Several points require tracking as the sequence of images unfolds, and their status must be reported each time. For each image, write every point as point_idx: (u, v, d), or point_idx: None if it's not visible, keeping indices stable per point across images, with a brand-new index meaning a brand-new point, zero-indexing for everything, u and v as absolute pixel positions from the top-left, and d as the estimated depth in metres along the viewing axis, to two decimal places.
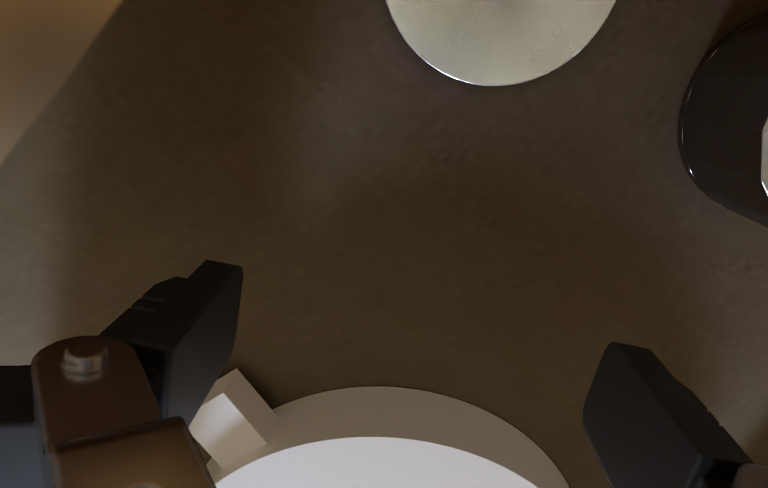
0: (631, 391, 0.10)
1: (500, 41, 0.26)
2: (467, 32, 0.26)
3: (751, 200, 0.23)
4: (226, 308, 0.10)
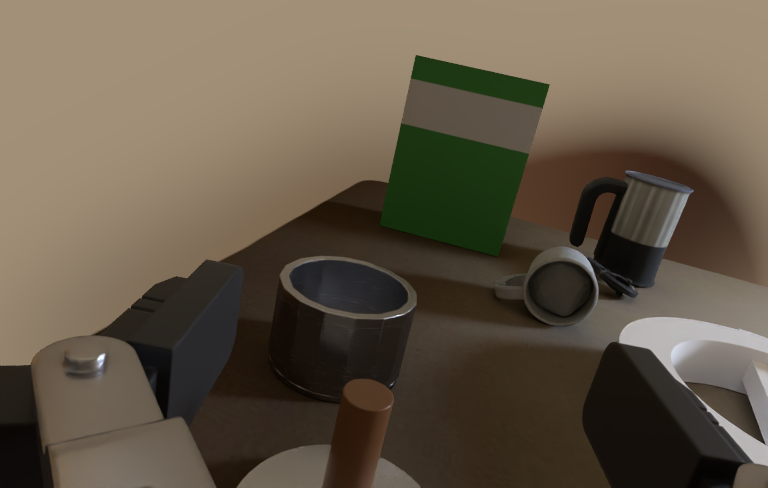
0: (631, 392, 0.10)
1: None
2: None
3: (408, 324, 0.40)
4: (226, 308, 0.10)
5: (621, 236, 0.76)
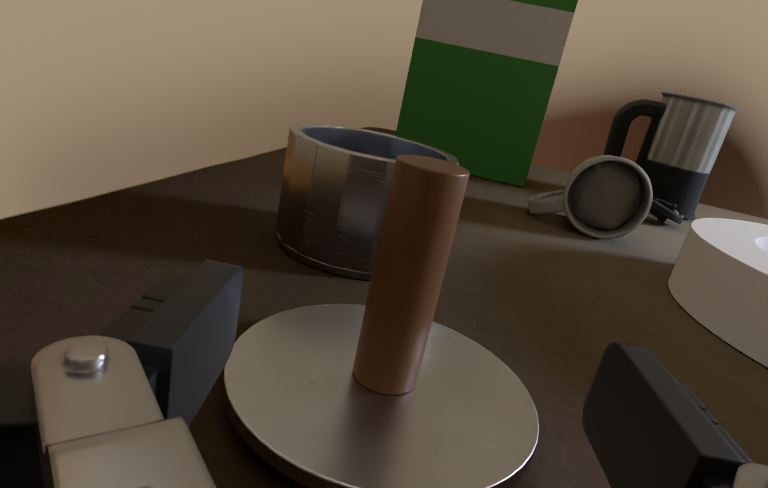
0: (630, 391, 0.10)
1: (457, 360, 0.22)
2: (475, 384, 0.20)
3: None
4: (226, 308, 0.10)
5: (659, 162, 0.69)
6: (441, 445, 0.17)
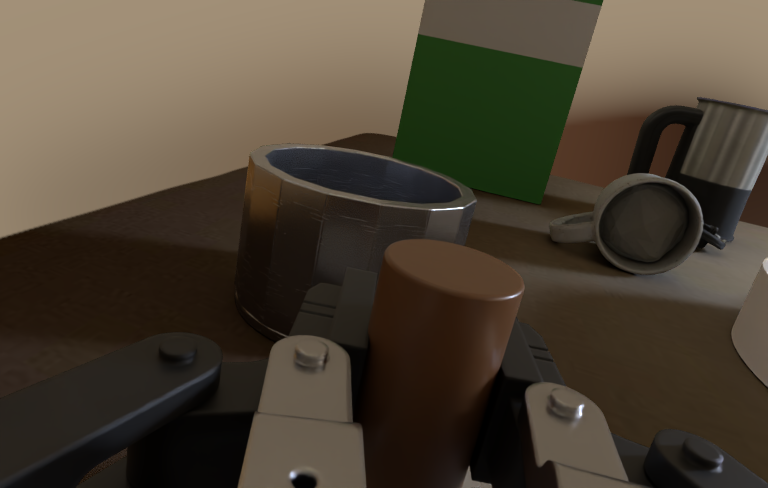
0: None
1: None
2: None
3: (464, 233, 0.24)
4: None
5: (695, 177, 0.60)
6: None
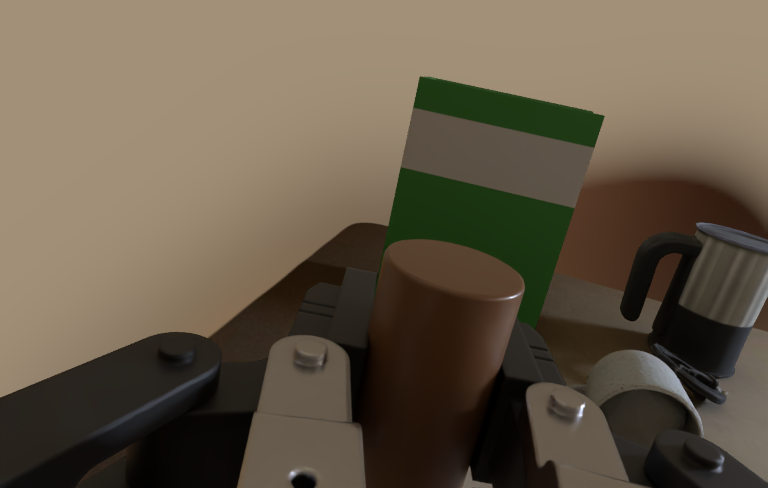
0: None
1: None
2: None
3: None
4: None
5: (694, 312, 0.57)
6: None
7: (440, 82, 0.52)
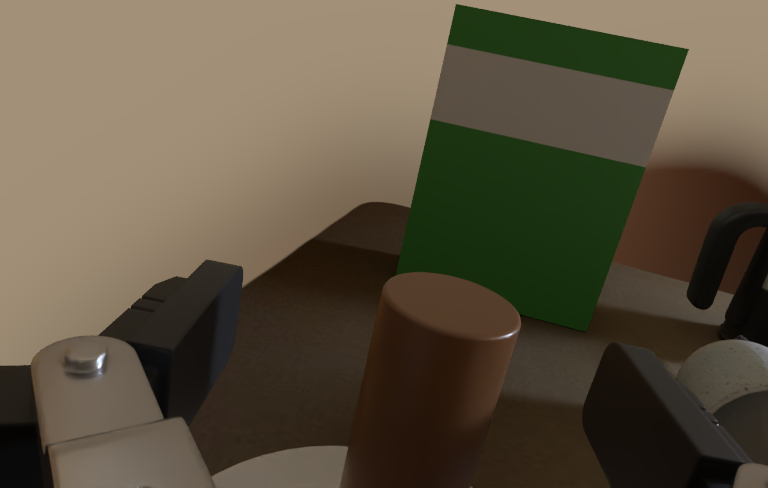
0: (630, 392, 0.10)
1: None
2: None
3: None
4: (226, 308, 0.10)
5: None
6: None
7: (481, 11, 0.42)
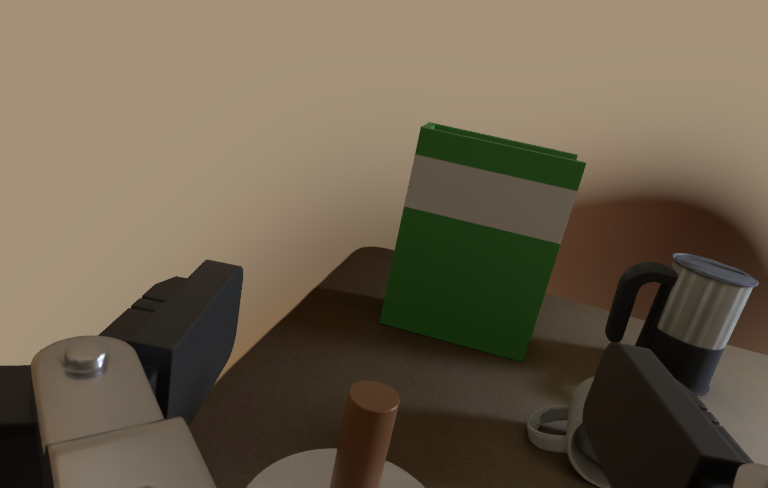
0: (630, 392, 0.10)
1: None
2: None
3: None
4: (226, 308, 0.10)
5: (670, 335, 0.63)
6: None
7: (439, 132, 0.58)
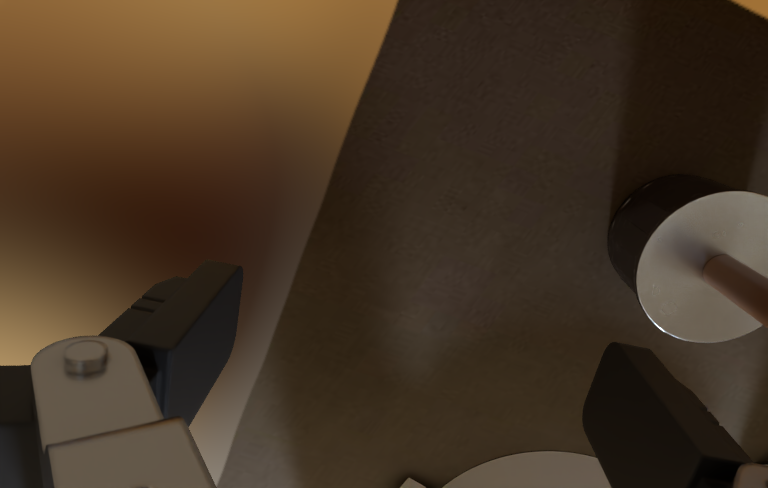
0: (631, 391, 0.10)
1: (732, 314, 0.39)
2: (708, 316, 0.39)
3: None
4: (226, 308, 0.10)
5: None
6: (664, 286, 0.38)
7: None
